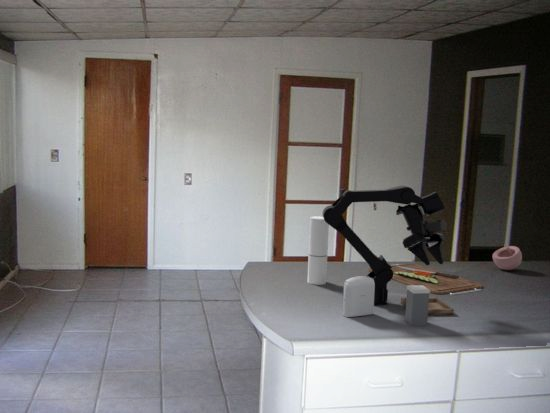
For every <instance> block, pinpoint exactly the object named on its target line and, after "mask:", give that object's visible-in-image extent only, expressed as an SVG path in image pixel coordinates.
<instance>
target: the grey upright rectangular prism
mask: <svg viewBox="0 0 550 413" xmlns="http://www.w3.org/2000/svg"><path fill="white" fill-rule="evenodd" d="M430 294H431V293H430V290H429V289H428V288H426V287H425V286H423V285H406V298H407V299H406V307H405V317H404V318H405V319H404V320H405V322H406V323H407V324H409V325H410V326H414V327H416V326H420V327H421V326H428V316H429V315H428V304H429V298H430Z"/></svg>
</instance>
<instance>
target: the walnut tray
mask: <svg viewBox="0 0 550 413" xmlns="http://www.w3.org/2000/svg"><path fill="white" fill-rule="evenodd" d="M406 299H407V297H401V298H400V304H401V305H403V307H405V308H406ZM454 310H455V309H454V308H453V307H451V306H449V305H448V304H447V303H445V302H443V301H442V300H441V299H439V298H438V297H429V304H428V316H453V315H454Z"/></svg>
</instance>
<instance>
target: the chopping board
mask: <svg viewBox="0 0 550 413" xmlns="http://www.w3.org/2000/svg"><path fill="white" fill-rule="evenodd" d="M390 265H391V266H392V268H391V269H392V271H393V278H392V280H391V281H393V282H397V283H400V284H403V285H406V286H407V285H423V286H425V287H426V288H428V289H429V290H430V293H429V294H432V295H445V294H449V295H450V296H454V295H462V294H466V293H468V294H469V293H473V292H480V291H482V288H483V285H482V283H479V282H476V281H471V280H468V279H465V278H462V277H460V276H459V275H455V274H450V273H447V272H446V273H445V272H442V271H439V270H435V269H432V268H429V267H426V266H422V265H419V264H414V263H394V264H390ZM371 271H372V269H371V268H370V267H369V268H368V273H370V272H371Z"/></svg>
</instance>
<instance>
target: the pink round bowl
mask: <svg viewBox="0 0 550 413" xmlns="http://www.w3.org/2000/svg"><path fill="white" fill-rule="evenodd" d="M503 246H504V247H501V248H499V249H496V250H495V251H494V252H493V253H492V261H493V263H494V265H496V267H498V268H499V269H501V270H504V271H512V270H515V269H516V268H518V267H519V266H520V264H521V263H522V260H523V254H522V251H521V250H520V248H519V247H518V246H515V245H509V246H508V245H507V244H503Z"/></svg>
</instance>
